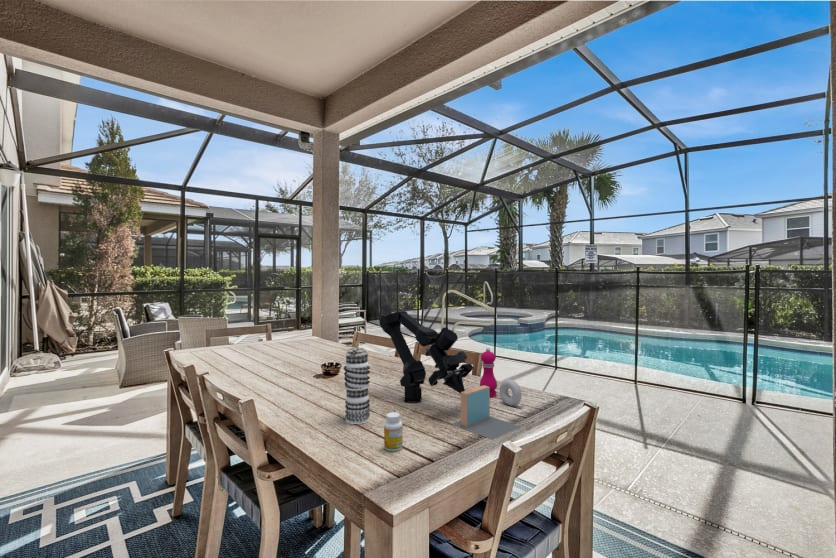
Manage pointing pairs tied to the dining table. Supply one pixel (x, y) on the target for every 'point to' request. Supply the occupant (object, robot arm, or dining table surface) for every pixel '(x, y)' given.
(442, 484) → the dining table surface
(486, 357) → the pepper mill
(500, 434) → the rubber mat
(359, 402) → the decorative candle
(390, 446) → the supplement bottle
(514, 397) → the donut
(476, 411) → the terracotta tile
